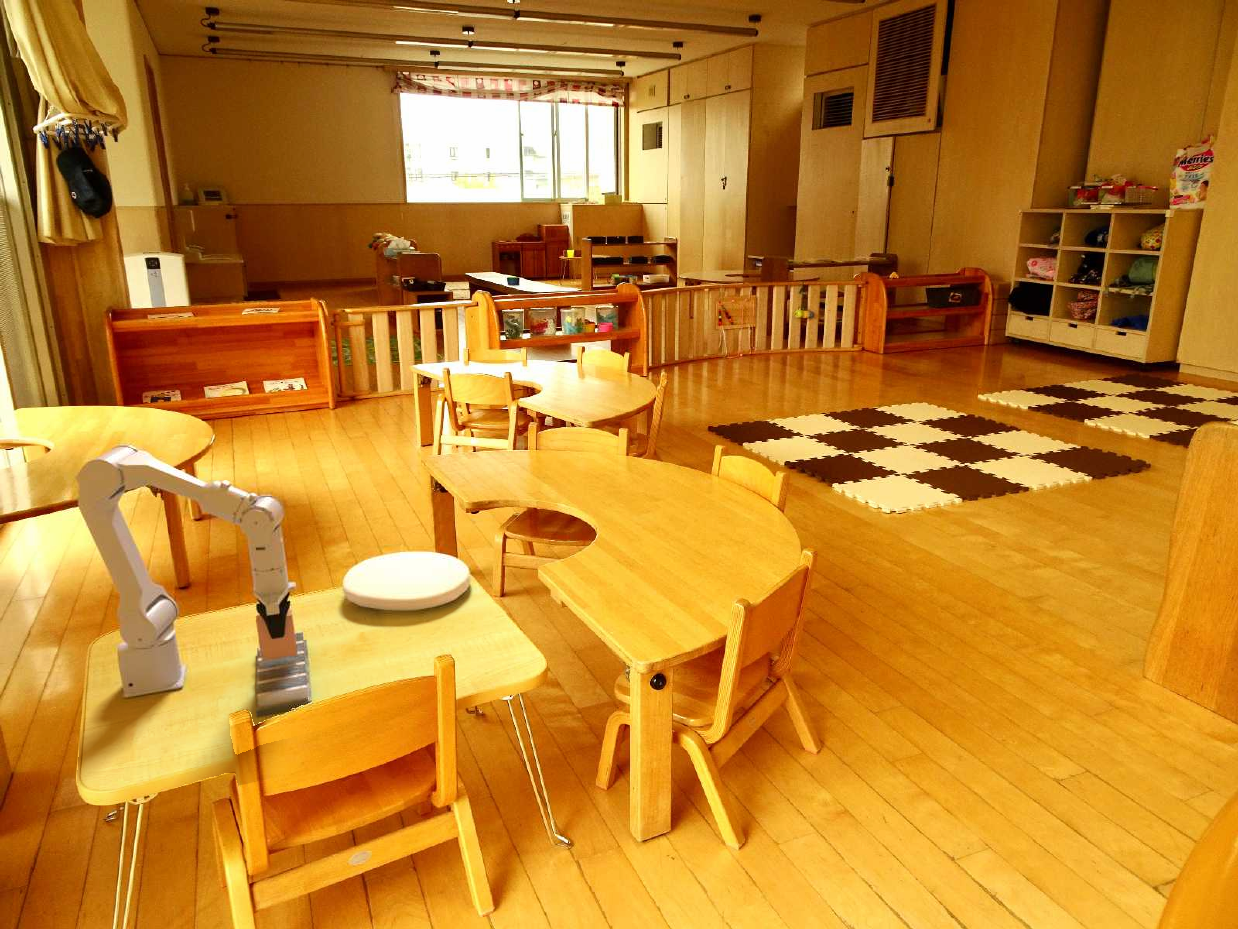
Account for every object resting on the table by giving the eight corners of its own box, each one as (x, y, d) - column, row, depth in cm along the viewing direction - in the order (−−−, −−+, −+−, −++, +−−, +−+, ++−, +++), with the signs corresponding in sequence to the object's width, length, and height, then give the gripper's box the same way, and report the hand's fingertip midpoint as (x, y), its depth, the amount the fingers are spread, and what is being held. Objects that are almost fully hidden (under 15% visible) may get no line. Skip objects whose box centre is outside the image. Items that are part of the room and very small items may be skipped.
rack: (256, 717, 145) (254, 699, 144) (258, 653, 166) (255, 637, 165) (312, 706, 148) (310, 688, 147) (306, 645, 169) (304, 628, 168)
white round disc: (465, 543, 207) (478, 590, 182) (463, 568, 209) (476, 618, 184) (344, 544, 199) (341, 593, 174) (344, 570, 200) (340, 622, 176)
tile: (262, 661, 153) (255, 621, 151) (262, 654, 155) (256, 615, 153) (297, 654, 155) (291, 615, 153) (297, 648, 158) (291, 609, 155)
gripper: (293, 577, 145) (302, 648, 149) (291, 546, 158) (299, 612, 162) (249, 584, 143) (259, 655, 147) (250, 552, 156) (260, 618, 160)
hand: (277, 633), depth 154 cm, fingers closed on tile, 2 cm apart
